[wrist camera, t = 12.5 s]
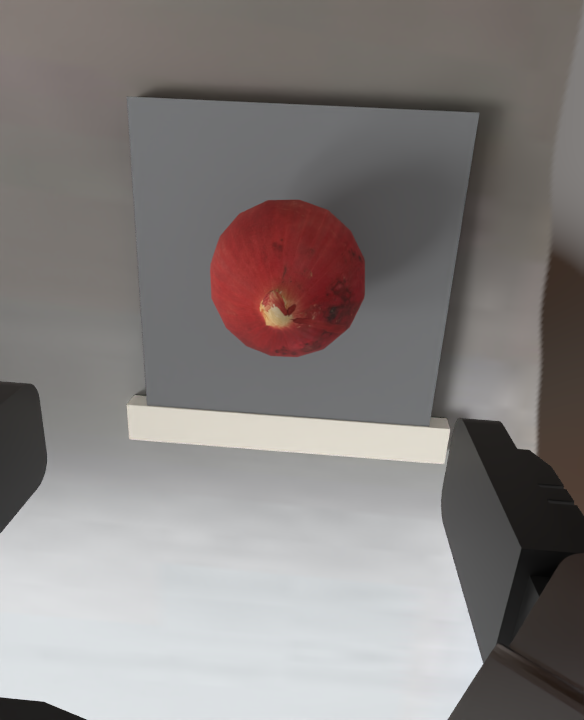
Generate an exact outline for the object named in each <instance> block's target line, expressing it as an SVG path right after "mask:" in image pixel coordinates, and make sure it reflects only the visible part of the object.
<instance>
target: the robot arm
mask: <svg viewBox="0 0 584 720" xmlns="http://www.w3.org/2000/svg"><path fill="white" fill-rule="evenodd" d="M46 464H47V452H46V445H45V437H44V429H43V422H42V414H41V406H40V399H39V394H38V391H37V389H36V388H35V386H34V385H32V384H26V383H14V382H1V381H0V533H1V532H2V531H3V529H4V528H5V527H6V526H7V525H8V523H9V522H10V521H11V520H12V519H13V517H14V516H15V515H16V514H17V512H18V511H19V510H20V509H21V508H22V506H23V505H24V504H25V503H26V502H27V500H28V499H29V498H30V497H31V496H32V494H33V493H34V492H35V491H36V490H37V488H38V487H39V486H40V484H41V482H42V480H43V477H44V474H45V470H46ZM563 487H564V486H563V484H562V482H561V481H560V479H559V478H558V476H557V475H556V473H555V472H554V470H553V469H552V467H551V466H550V465H548V464H547V463H546V462H544V461H543V460H542V459H540V458H539V457H538V456H536V455H535V454H534V453H532V452H531V451H530V450H523V449H517V448H516V446H515V444H514V443H513V441H512V439H511V437H510V436H509V434H508V432H507V431H506V429H505V427H504V426H503V424H502V423H501V422H500V421H489V420H476V419H463V418H459V419H458V420H457V421H456V423H455V426H454V430H453V435H452V440H451V445H450V451H449V456H448V461H447V467H446V472H445V477H444V483H443V488H442V498H441V511H442V520H443V524H444V528H445V531H446V535H447V538H448V542H449V545H450V549H451V552H452V556H453V559H454V563H455V566H456V570H457V573H458V577H459V580H460V584H461V587H462V591H463V594H464V598H465V601H466V605H467V608H468V612H469V615H470V619H471V622H472V625H473V629H474V632H475V636H476V639H477V643H478V646H479V650H480V653H481V657H482V660H483V665H482V667H481V668H480V670H479V671H478V673H477V675H476V676H475V678H474V679H473V681H472V682H471V684H470V685H469V687H468V689H467V690H466V692H465V693H464V695H463V696H462V698H461V700H460V701H459V703H458V704H457V706H456V707H455V709H454V710H453V712H452V714H451V715H450V717H449V718H448V720H584V516H583V514H582V513H581V511H580V510H579V508H578V507H577V506H576V505H574V500H573V499H572V497H571V496H570V494H569V493H568V491H567V490H566V489H564V488H563ZM0 720H86V719H84V718H81V717H79V716H77V715H74V714H72V713H69V712H67V711H64V710H62V709H60V708H57V707H55V706H52V705H50V704H48V703H45V702H40V701H30V700H20V699H10V698H0Z"/></svg>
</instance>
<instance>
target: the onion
mask: <svg viewBox="0 0 584 720" xmlns="http://www.w3.org/2000/svg"><path fill="white" fill-rule="evenodd" d="M210 277H211V299H212V300H213V302H214V304H215V306H216V308H217V310H218V312H219V314H220V316H221V318H222V321H223V323H224V325H225V327H226V328H227V329H228V330H229V331H230V332H231V333H232V334H233V335H235V336H236V337H237V338H238V339H239V340H240V341H241V342H242V343H243V344H245V345H246V346H247V347H250V348H252V349H255V350H257V351H260V352H262V353H265V354H267V355H270V356H280V357H299V356H303V355H306V354H310V353H313V352H316V351H320V350H323V349H324V348H326V347H327V346H328V345H329V344H331V343H332V342H333V341H334V340H335V339H337V338H338V337H339V336H340V335H341V334H343V333H344V332H345V331H346V330H347V329H348V328H350V326H351V324H352V322H353V320H354V318H355V316H356V314H357V312H358V310H359V308H360V306H361V304H362V302H363V300H364V297H365V259H364V257H363V255H362V253H361V251H360V249H359V247H358V245H357V242H356V240H355V238H354V236H353V234H352V232H351V231H350V230H349V229H348V228H347V227H346V226H345V225H344V224H343V223H342V222H341V221H340V220H339V219H337V218H336V217H335V216H334V215H333V214H332V213H331V212H330V211H329V210H327V209H324V208H321V207H318V206H316V205H313V204H310V203H307V202H305V201H302V200H267V201H265V202H263V203H261V204H258V205H256V206H254V207H252V208H250V209H248V210H246V211H244V212H241V213H239V214H238V216H237V217H236V218H235V219H234V220H233V221H232V223H231V224H230V225H229V226H228V227H227V228H226V230H225V231H224V232H223V233H222V234H221V235H220V237H219V240H218V243H217V246H216V249H215V252H214V255H213V258H212V261H211V265H210Z"/></svg>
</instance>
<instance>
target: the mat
mask: <svg viewBox="0 0 584 720" xmlns="http://www.w3.org/2000/svg"><path fill="white" fill-rule="evenodd" d="M127 107H128V122H129V138H130V153H131V169H132V184H133V199H134V215H135V230H136V246H137V261H138V276H139V292H140V307H141V323H142V338H143V353H144V369H145V384H146V396H140V395H134V396H133V397H132V398H131V400H130V401H129V402H128V404H127V416H128V429H129V439H130V440H143V441H156V442H168V443H181V444H194V445H206V446H219V447H232V448H244V449H257V450H270V451H282V452H295V453H308V454H320V455H333V456H346V457H359V458H371V459H384V460H397V461H409V462H422V463H435V464H444V462H445V457H446V451H447V445H448V440H449V434H450V427H449V424H448V422H447V419H446V418H435V417H431V412H432V406H433V400H434V394H435V387H436V381H437V375H438V369H439V362H440V356H441V350H442V344H443V337H444V331H445V325H446V319H447V312H448V306H449V300H450V294H451V287H452V281H453V275H454V269H455V262H456V256H457V250H458V244H459V237H460V231H461V225H462V219H463V212H464V206H465V200H466V193H467V187H468V181H469V175H470V168H471V162H472V156H473V150H474V143H475V137H476V131H477V125H478V118H479V113H476V112H454V111H432V110H410V109H388V108H366V107H344V106H323V105H301V104H279V103H257V102H235V101H213V100H191V99H169V98H148V97H127ZM267 200H302V201H305V202H307V203H310V204H313V205H316V206H318V207H321V208H324V209H327V210H329V211H330V212H331V213H332V214H333V215H334V216H335V217H336V218H337V219H339V220H340V221H341V222H342V223H343V224H344V225H345V226H346V227H347V228H348V229H349V230H350V231H351V232H352V234H353V236H354V238H355V240H356V242H357V245H358V247H359V249H360V251H361V253H362V255H363V257H364V259H365V297H364V300H363V302H362V304H361V306H360V308H359V310H358V312H357V314H356V316H355V318H354V320H353V322H352V324H351V326H350V328H348V329H347V330H346V331H345V332H344V333H343V334H341V335H340V336H339V337H338V338H337V339H335V340H334V341H333V342H332V343H331V344H329V345H328V346H327V347H326V348H324V349H323V350H320V351H316V352H313V353H310V354H306V355H303V356H299V357H280V356H270V355H267V354H265V353H262V352H260V351H257V350H255V349H252V348H250V347H247V346H246V345H245V344H243V343H242V342H241V341H240V340H239V339H238V338H237V337H236V336H235V335H233V334H232V333H231V332H230V331H229V330H228V329H227V328H226V327H225V325H224V323H223V321H222V318H221V316H220V314H219V312H218V310H217V308H216V306H215V304H214V302H213V300H212V299H211V277H210V265H211V261H212V258H213V255H214V252H215V249H216V246H217V243H218V240H219V237H220V235H221V234H222V233H223V232H224V231H225V230H226V228H227V227H228V226H229V225H230V224H231V223H232V221H233V220H234V219H235V218H236V217H237V216H238V214H239V213H241V212H244V211H246V210H248V209H250V208H252V207H254V206H256V205H258V204H261V203H263V202H265V201H267Z"/></svg>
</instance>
